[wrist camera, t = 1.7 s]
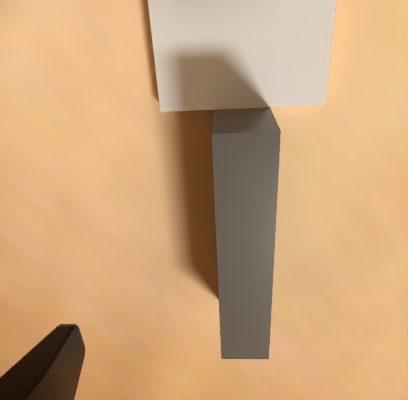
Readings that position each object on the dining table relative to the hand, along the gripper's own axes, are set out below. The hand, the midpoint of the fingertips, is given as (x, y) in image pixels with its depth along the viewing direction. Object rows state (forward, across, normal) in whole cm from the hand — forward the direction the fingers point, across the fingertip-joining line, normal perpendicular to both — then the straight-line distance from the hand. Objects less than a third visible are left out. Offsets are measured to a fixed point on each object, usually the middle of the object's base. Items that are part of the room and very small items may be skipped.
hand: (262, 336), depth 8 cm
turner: (+10, 0, -1) cm, 10 cm away
